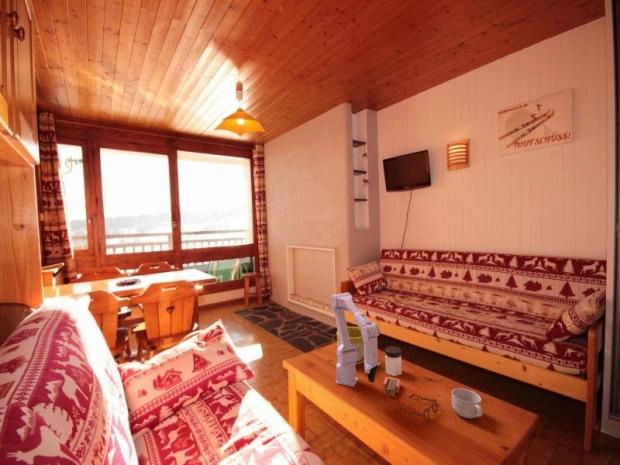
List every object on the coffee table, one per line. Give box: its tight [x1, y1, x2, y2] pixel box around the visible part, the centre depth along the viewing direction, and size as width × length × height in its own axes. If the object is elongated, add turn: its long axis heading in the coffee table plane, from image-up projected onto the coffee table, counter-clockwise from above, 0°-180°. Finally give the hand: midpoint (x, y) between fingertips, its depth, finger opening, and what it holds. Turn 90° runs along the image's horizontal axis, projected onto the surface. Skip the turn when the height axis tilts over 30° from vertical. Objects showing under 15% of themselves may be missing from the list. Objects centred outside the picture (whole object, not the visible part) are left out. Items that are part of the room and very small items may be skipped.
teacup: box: [451, 387, 484, 420], centre depth 119 cm, size 14×11×8 cm
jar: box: [384, 346, 403, 377], centre depth 156 cm, size 9×8×12 cm
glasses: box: [395, 393, 438, 423], centre depth 125 cm, size 13×13×5 cm
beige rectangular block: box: [386, 379, 397, 398], centre depth 138 cm, size 3×9×4 cm, turn 156°
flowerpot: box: [336, 326, 365, 366], centre depth 171 cm, size 18×18×16 cm
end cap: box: [382, 376, 401, 394], centre depth 141 cm, size 7×7×3 cm
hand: (371, 381), depth 130 cm, fingers closed
